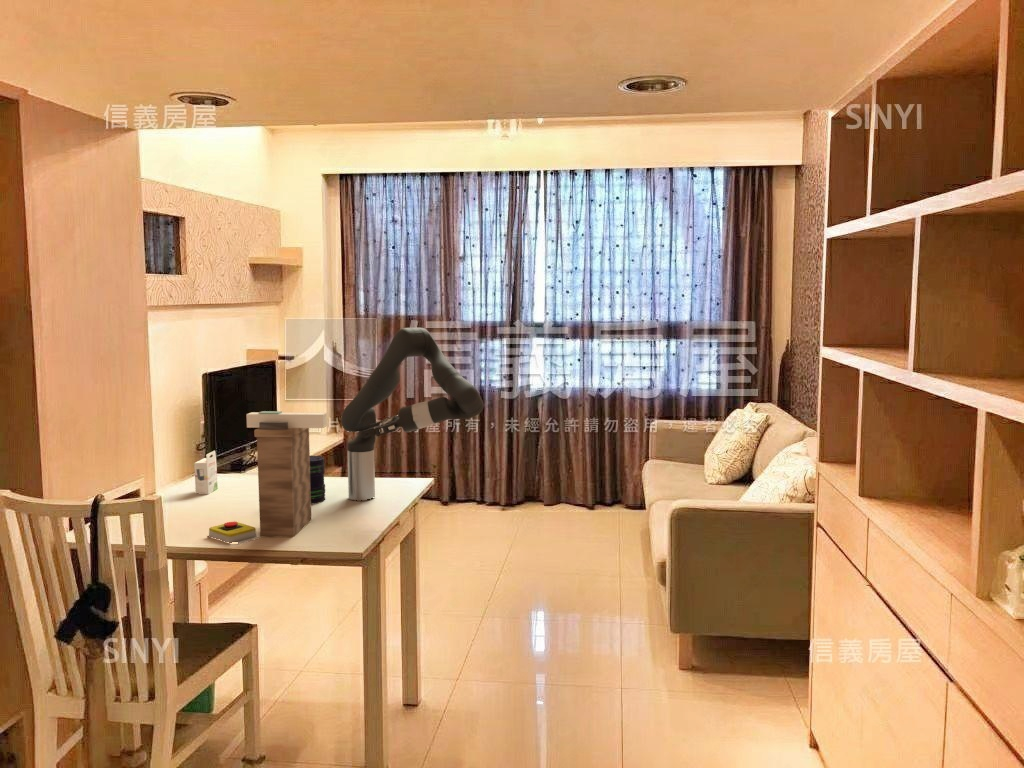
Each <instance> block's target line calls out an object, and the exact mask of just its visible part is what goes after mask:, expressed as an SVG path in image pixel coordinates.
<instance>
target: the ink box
mask: <svg viewBox="0 0 1024 768" xmlns="http://www.w3.org/2000/svg"><path fill="white" fill-rule="evenodd" d="M205 456H206V457H205V458H204V457H203V458H201V459H200V460H198V461H195V462H194V463H193V467H194V468H193V469H194V486H195V488H194V489H195V494H196V493H199V494H198V495H210V494H211V493H213V492H215V491H216V489H217V490H218V489H219V488H218V470H217V468H218V467H217V466H218V465H217V455H216V450H213V451H211V452H209V453H207V454H206V455H205ZM214 490H215V491H214ZM209 493H210V494H209Z"/></svg>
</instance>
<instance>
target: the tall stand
mask: <svg viewBox="0 0 1024 768" xmlns="http://www.w3.org/2000/svg"><path fill="white" fill-rule="evenodd" d="M253 436H254V437H255V438H256V450H257V451H256V452H257V454H256V456H257V477H258V478H257V479H258V502H259V503H258V505H259V507H258V509H259V510H258V511H259V512H258V513H259V537H261V536H294V537H295V536H296V535H298V533H300V531H302V530H303V529H304V528H305V527H306V526H308V524H309V523H310V522H311V521H312V504H311V486H310V456H311V454H310V428H288V422H259V428H256V429H254V435H253ZM305 525H306V526H305ZM304 526H305V527H304ZM303 527H304V528H303ZM302 528H303V529H302Z"/></svg>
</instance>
